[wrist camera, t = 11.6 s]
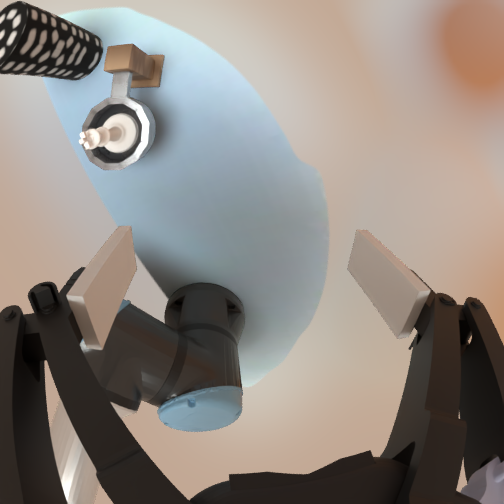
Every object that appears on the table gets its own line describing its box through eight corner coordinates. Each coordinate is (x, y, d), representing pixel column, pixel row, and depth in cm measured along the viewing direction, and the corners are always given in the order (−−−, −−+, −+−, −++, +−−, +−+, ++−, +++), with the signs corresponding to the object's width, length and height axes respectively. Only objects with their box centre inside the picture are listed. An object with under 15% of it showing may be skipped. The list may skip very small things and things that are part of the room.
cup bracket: (153, 165, 31) (146, 170, 28) (93, 165, 30) (81, 170, 27) (164, 60, 25) (158, 55, 22) (100, 65, 24) (89, 61, 21)
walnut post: (159, 86, 32) (135, 76, 22) (127, 88, 31) (94, 80, 21) (164, 56, 30) (142, 35, 19) (132, 57, 29) (101, 40, 19)
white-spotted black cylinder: (64, 89, 29) (-22, 89, 11) (57, 50, 25) (-23, 34, 7) (107, 65, 29) (29, 41, 11) (99, 25, 25) (28, -13, 7)
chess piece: (111, 159, 29) (72, 177, 20) (96, 126, 26) (53, 132, 18) (144, 141, 28) (113, 151, 20) (129, 106, 26) (93, 103, 17)
